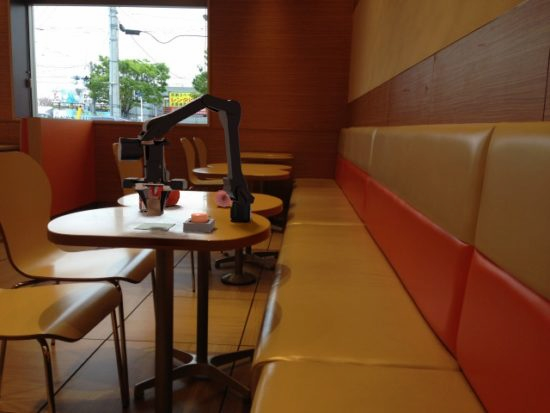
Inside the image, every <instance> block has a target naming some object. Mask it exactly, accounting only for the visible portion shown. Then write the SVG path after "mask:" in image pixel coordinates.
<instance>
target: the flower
mask: <svg viewBox="0 0 550 413" xmlns="http://www.w3.org/2000/svg"><path fill="white" fill-rule="evenodd" d="M214 201H215V204H217V206H220V207H221V208H222V207H223V208H226V207H229V206H232V202H233V201H231V200H230V197H229V196H228V195H227V194H226V192H225V190H224V189H221V190H218V191H216V193H214Z"/></svg>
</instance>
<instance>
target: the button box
mask: <svg viewBox="0 0 550 413" xmlns="http://www.w3.org/2000/svg"><path fill="white" fill-rule="evenodd" d="M215 221H216V219H215V218H208V223H191V217H189V218H187V219H186V220H185V221H184V222H182V228H183V230H182V231H183V232H195V233H197V232H198V233H210V232H212V230H213V229H214V228H215V226H216V225H215V224H216V223H215Z"/></svg>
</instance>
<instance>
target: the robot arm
mask: <svg viewBox="0 0 550 413" xmlns="http://www.w3.org/2000/svg"><path fill="white" fill-rule="evenodd" d="M204 109H207V110H209V111H212V112H214V113H216V114H218V118H219V122H220V123H221V126H222V128H223V130H224V141H225V143H224V144H225V151H226V164H227V175H226V177H222V183H223V188H222V190H223V191H224V192H226V194H227V195H228V196H229V197H230V200H231V202H232V203H231V205H230V207H229V209H230V212H229V218H230V222H238V223H239V222H240V223H241V222H242V223H243V222H244V223H247V222H248V223H250V222H251V221H252V218H253V217H252V205H253V204H254V202H255V199H256V198H255V196H254V195H253V194H252V193H251V192H250V190H249V188H248V183H247V180H246V177H245V175H244V172H243V170H242V158H241V145H240V132H239V127H240V124H241V121H242V110H243V109H242V105H241V103H240V102H239V101H238V100H236V99H229V100H227V99H225V98H222V97H221V98H220V97H217V96H214V95H211V94H210V93H203V94H200V95H199V96H197V97H196V98H194V99H192V100H190V101H188V102H187V103H185V104H183V105H181V106H179V107H177V108H175V109H174V110H172V111H169V112H168V113H165V114H162V115H158V116H155V117H152V118H149V119H146V120H145V121H144V122H143V124H142V128H141V129H142V130H141V132H140V133H139V134H138V135H137V137H136V138H127V137H119V138H118V144H117V145H118V148H117V156H118V157H117V159H118V161H119V162H140V160H141V159H142V158H144V164H143V169H144V177H143V178H144V180H141V179H140V177H130V176H129V177H127V178H126V177H125V178H123V179H122V181H121V188H122V189H133V188H134V189H133V192H137V194H138V197H139V196H140V197H141V199H142V201H143V203H144V205H145V207H146V210H147V199H149V188H147V186H150V187H163V188H164V190H161V212H163V211H164V210H165V208H166V206H165V205H166V202H167V199H168V197H169V195H170V193H171V192H173V191H175V190H179V191H184V190H186V189H188V181H187V180H186V178H172V179H170V171H169V170H167V169H166V163H165V147H171V146H172V144H171V143H170V142H169V141H168V140H167V138H165V137H163V136H164V135H166V134H167V133H168V132H170V131H171V130H172V128H174V127H175V126H176V125H178V124H179V123H181V122H182V121H184V120H186V119H188V118H191V116H193V115H195V114H197V113H199V112H201V111H202V110H204ZM153 139H154V140H153ZM156 139H157V140H156ZM160 139H161V140H160ZM143 142H150V143H143ZM169 180H170V181H169ZM164 212H165V211H164Z"/></svg>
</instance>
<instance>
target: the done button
mask: <svg viewBox="0 0 550 413" xmlns="http://www.w3.org/2000/svg"><path fill="white" fill-rule="evenodd" d="M208 216H209V215H208V213H205V212H203V213H202V212H193V213H191V214H190V218H191V223H208V219H209V218H208Z"/></svg>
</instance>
